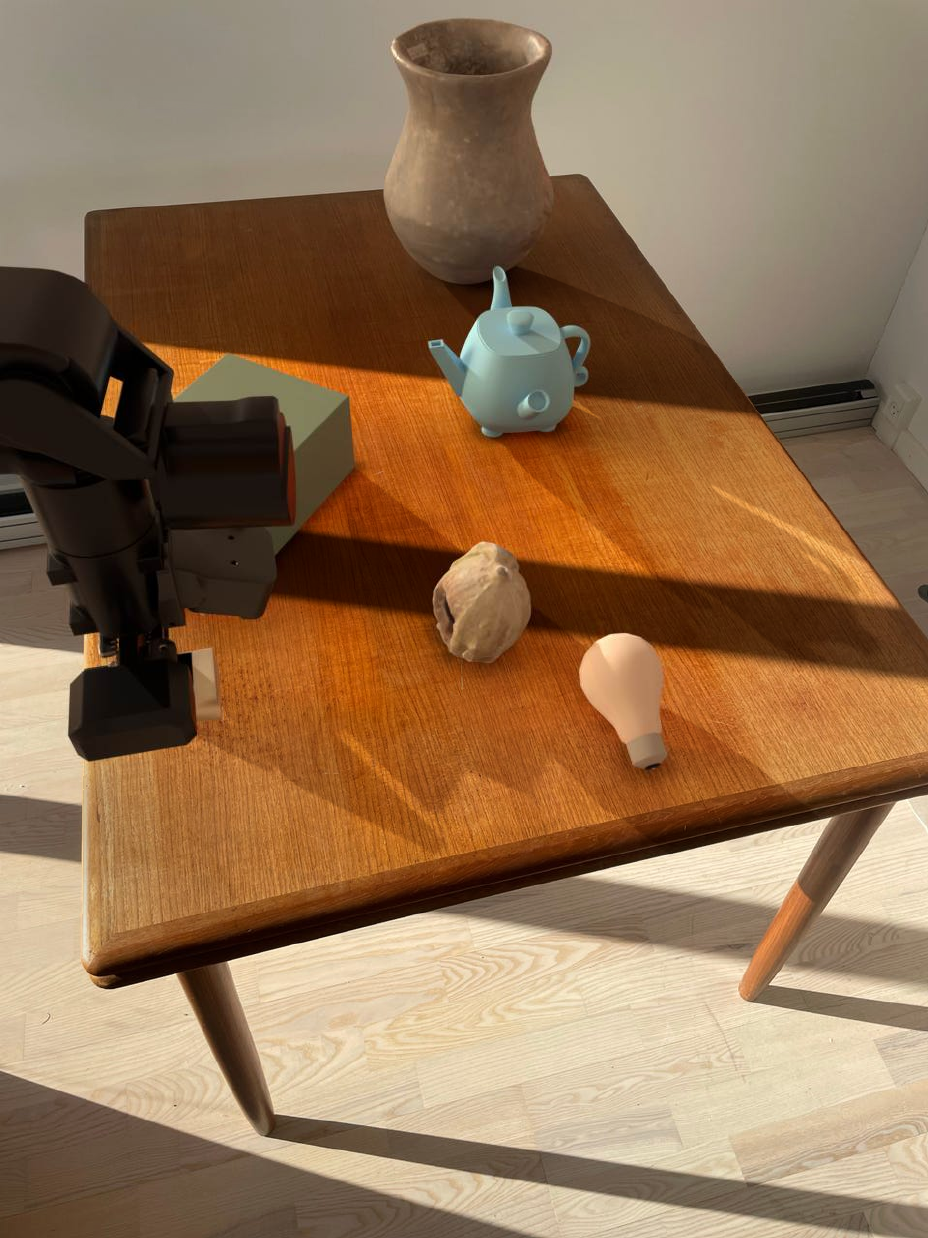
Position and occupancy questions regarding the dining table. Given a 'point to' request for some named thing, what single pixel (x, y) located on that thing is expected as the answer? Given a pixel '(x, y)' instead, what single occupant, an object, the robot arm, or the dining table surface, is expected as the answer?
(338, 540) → the dining table surface
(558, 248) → the dining table surface
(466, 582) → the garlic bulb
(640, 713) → the light bulb
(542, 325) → the teapot
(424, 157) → the vase
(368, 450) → the dining table surface
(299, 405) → the cabinet
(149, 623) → the robot arm
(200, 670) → the beige rectangular block
